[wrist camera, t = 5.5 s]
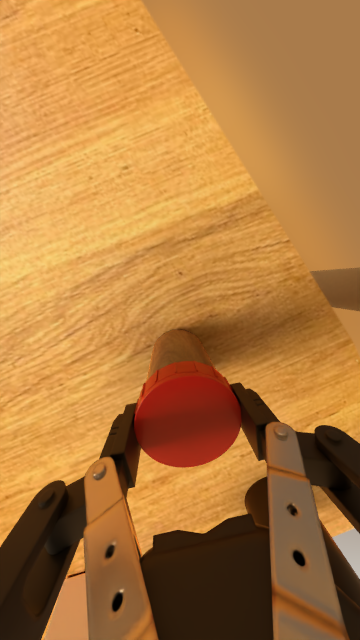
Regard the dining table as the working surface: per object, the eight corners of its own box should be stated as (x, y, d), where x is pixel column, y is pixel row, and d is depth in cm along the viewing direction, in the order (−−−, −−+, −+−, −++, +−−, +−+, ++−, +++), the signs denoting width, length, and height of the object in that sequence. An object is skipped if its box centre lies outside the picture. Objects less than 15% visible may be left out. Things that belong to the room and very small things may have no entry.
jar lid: (156, 347, 11) (154, 361, 9) (245, 375, 12) (260, 393, 10) (126, 429, 12) (119, 456, 10) (210, 449, 13) (217, 476, 11)
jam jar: (196, 322, 19) (222, 361, 10) (208, 368, 21) (242, 439, 11) (145, 338, 19) (125, 390, 10) (161, 382, 21) (156, 465, 11)
